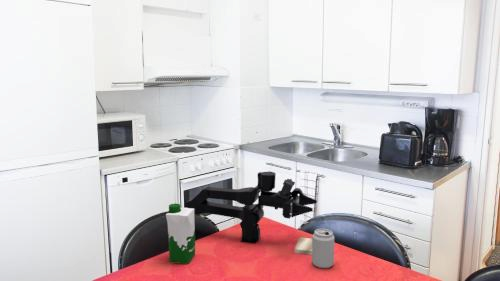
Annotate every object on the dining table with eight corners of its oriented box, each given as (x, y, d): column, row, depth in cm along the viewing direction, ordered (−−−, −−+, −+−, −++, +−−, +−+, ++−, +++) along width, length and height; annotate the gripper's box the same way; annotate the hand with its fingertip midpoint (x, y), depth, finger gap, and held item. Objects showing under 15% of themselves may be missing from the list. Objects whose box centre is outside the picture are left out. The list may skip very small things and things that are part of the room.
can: (335, 269, 135) (336, 235, 133) (313, 269, 135) (314, 236, 133) (331, 259, 142) (332, 227, 140) (310, 259, 143) (311, 227, 141)
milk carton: (175, 252, 149) (173, 201, 146) (198, 254, 148) (196, 202, 144) (166, 263, 141) (163, 209, 137) (190, 265, 139) (188, 210, 136)
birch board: (294, 252, 148) (294, 249, 147) (299, 240, 158) (299, 237, 158) (324, 256, 145) (324, 252, 144) (327, 243, 155) (327, 240, 155)
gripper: (268, 186, 143) (312, 192, 139) (281, 173, 161) (320, 178, 156) (267, 215, 145) (309, 222, 141) (279, 199, 163) (317, 205, 158)
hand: (314, 205), depth 149 cm, fingers open, 9 cm apart
